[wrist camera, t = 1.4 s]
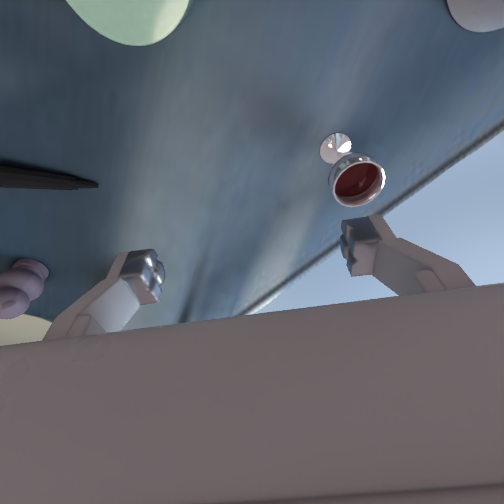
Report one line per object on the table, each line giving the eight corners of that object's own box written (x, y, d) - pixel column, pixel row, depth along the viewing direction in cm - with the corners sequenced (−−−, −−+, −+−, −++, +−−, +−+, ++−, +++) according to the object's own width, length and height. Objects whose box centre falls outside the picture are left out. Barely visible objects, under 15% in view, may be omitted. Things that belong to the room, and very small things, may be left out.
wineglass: (364, 134, 44) (396, 168, 35) (343, 172, 49) (366, 212, 40) (326, 121, 43) (349, 153, 34) (307, 162, 47) (323, 200, 38)
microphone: (101, 166, 49) (-40, 150, 44) (91, 172, 44) (-68, 155, 39) (102, 197, 52) (-31, 185, 46) (94, 206, 47) (-57, 193, 41)
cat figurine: (31, 285, 65) (-2, 331, 56) (1, 262, 60) (-41, 308, 51) (62, 276, 63) (32, 321, 54) (33, 251, 58) (-5, 297, 49)
